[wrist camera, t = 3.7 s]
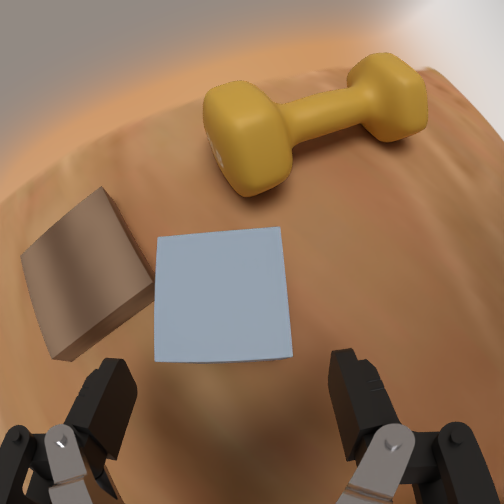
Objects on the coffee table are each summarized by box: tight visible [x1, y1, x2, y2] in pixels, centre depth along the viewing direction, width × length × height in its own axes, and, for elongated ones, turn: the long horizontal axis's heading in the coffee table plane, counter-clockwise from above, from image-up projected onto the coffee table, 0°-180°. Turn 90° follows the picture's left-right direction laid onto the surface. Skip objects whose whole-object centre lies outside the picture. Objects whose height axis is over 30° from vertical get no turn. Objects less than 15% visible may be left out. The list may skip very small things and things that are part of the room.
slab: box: [20, 186, 155, 362], centre depth 20 cm, size 10×10×3 cm
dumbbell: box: [203, 53, 428, 197], centre depth 21 cm, size 19×9×8 cm, turn 115°
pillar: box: [154, 227, 293, 364], centre depth 15 cm, size 5×5×9 cm
